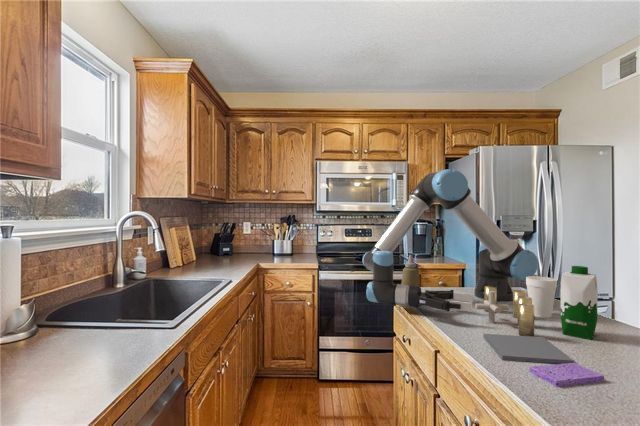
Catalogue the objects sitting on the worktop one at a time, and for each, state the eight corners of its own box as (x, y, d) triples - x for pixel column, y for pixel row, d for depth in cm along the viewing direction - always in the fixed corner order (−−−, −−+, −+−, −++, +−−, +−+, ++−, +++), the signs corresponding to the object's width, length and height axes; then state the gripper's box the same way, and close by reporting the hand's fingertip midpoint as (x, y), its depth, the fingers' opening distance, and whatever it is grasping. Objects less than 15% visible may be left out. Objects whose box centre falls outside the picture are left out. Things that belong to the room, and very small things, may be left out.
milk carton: (598, 334, 105) (598, 267, 105) (595, 342, 98) (595, 271, 98) (563, 327, 111) (563, 264, 111) (558, 334, 104) (558, 267, 104)
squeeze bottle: (401, 298, 148) (401, 255, 148) (400, 293, 156) (400, 253, 156) (421, 299, 147) (421, 256, 147) (419, 294, 155) (419, 254, 155)
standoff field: (516, 311, 129) (516, 286, 129) (556, 339, 100) (556, 308, 100) (483, 309, 131) (483, 285, 131) (512, 336, 102) (512, 305, 102)
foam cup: (557, 320, 118) (557, 282, 118) (525, 316, 123) (525, 279, 123) (555, 313, 126) (556, 277, 126) (526, 309, 131) (526, 275, 131)
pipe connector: (501, 317, 121) (501, 288, 121) (514, 327, 111) (514, 295, 111) (471, 316, 122) (471, 288, 122) (481, 325, 112) (481, 294, 112)
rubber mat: (543, 340, 99) (543, 337, 99) (574, 364, 83) (574, 360, 83) (483, 337, 102) (483, 333, 102) (502, 359, 86) (502, 355, 86)
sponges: (529, 374, 79) (529, 366, 79) (574, 369, 82) (574, 361, 82) (556, 389, 73) (556, 380, 73) (604, 383, 75) (604, 374, 75)
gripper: (414, 298, 139) (473, 304, 130) (401, 314, 116) (471, 323, 107) (415, 279, 139) (473, 284, 130) (401, 292, 116) (471, 299, 107)
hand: (472, 302), depth 118 cm, fingers open, 13 cm apart
